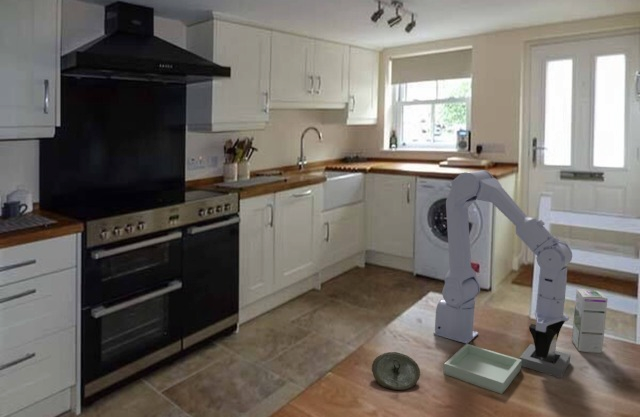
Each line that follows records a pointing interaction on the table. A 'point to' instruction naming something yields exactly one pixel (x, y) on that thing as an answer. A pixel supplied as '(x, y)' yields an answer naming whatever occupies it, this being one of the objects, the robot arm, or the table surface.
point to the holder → (543, 366)
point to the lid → (395, 371)
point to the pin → (550, 352)
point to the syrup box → (589, 320)
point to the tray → (483, 368)
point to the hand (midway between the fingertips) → (545, 350)
